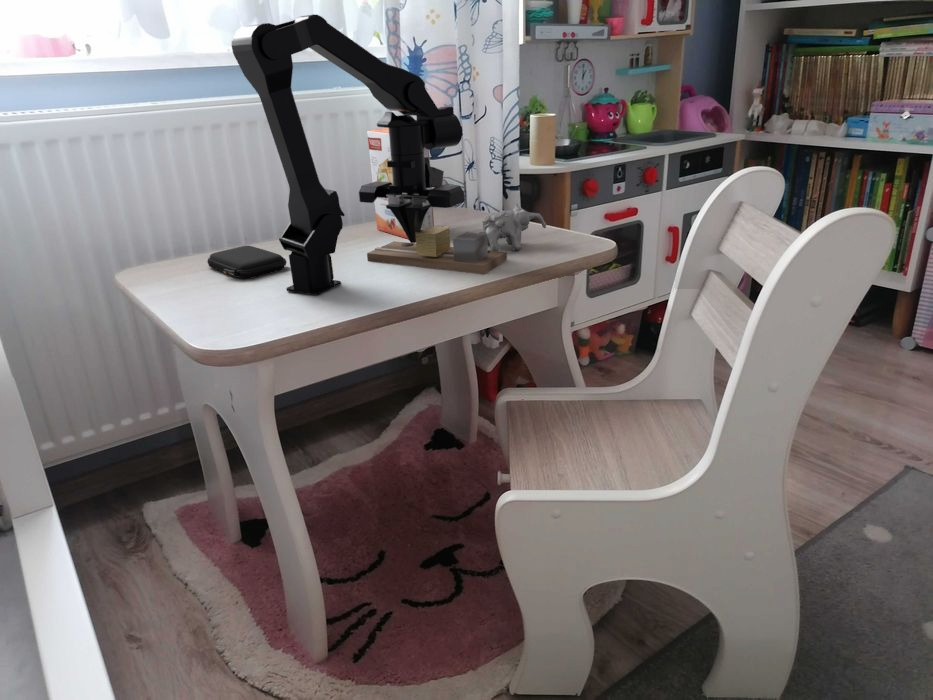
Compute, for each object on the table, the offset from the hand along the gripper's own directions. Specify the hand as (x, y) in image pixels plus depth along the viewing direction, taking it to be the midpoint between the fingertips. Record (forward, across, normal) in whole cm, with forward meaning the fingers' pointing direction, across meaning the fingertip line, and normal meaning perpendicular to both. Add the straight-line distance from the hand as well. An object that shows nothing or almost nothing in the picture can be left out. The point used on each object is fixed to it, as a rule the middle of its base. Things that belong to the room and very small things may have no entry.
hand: (414, 242), depth 125 cm
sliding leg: (+2, -4, -1) cm, 4 cm away
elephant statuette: (+4, -13, -15) cm, 20 cm away
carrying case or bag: (+4, +28, +15) cm, 31 cm away
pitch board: (+4, -4, -2) cm, 5 cm away
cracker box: (+4, +14, -18) cm, 22 cm away
